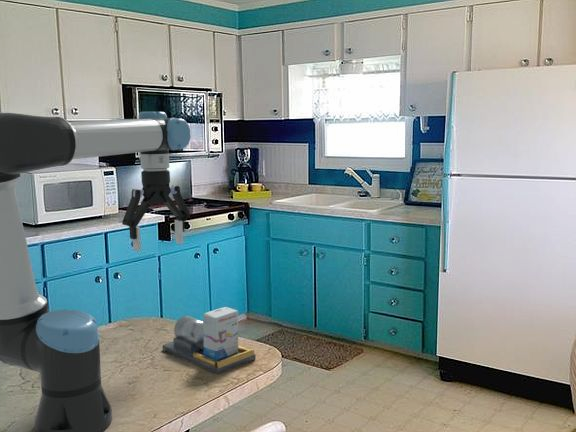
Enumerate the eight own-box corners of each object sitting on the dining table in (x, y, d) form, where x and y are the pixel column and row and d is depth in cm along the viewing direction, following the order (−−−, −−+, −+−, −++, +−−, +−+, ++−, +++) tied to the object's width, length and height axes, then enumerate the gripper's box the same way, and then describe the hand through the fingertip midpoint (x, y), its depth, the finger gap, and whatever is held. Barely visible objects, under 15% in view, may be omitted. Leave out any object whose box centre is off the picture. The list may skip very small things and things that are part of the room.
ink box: (216, 361, 153) (215, 317, 151) (203, 357, 156) (201, 313, 154) (239, 351, 159) (238, 309, 157) (226, 347, 162) (225, 305, 160)
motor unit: (217, 374, 148) (216, 341, 147) (162, 350, 165) (161, 320, 164) (255, 359, 158) (254, 328, 156) (200, 337, 174) (199, 309, 173)
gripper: (121, 173, 149) (125, 256, 152) (201, 167, 166) (203, 242, 169) (106, 171, 154) (110, 252, 157) (185, 166, 171) (187, 238, 175)
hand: (158, 247), depth 163 cm, fingers open, 13 cm apart
